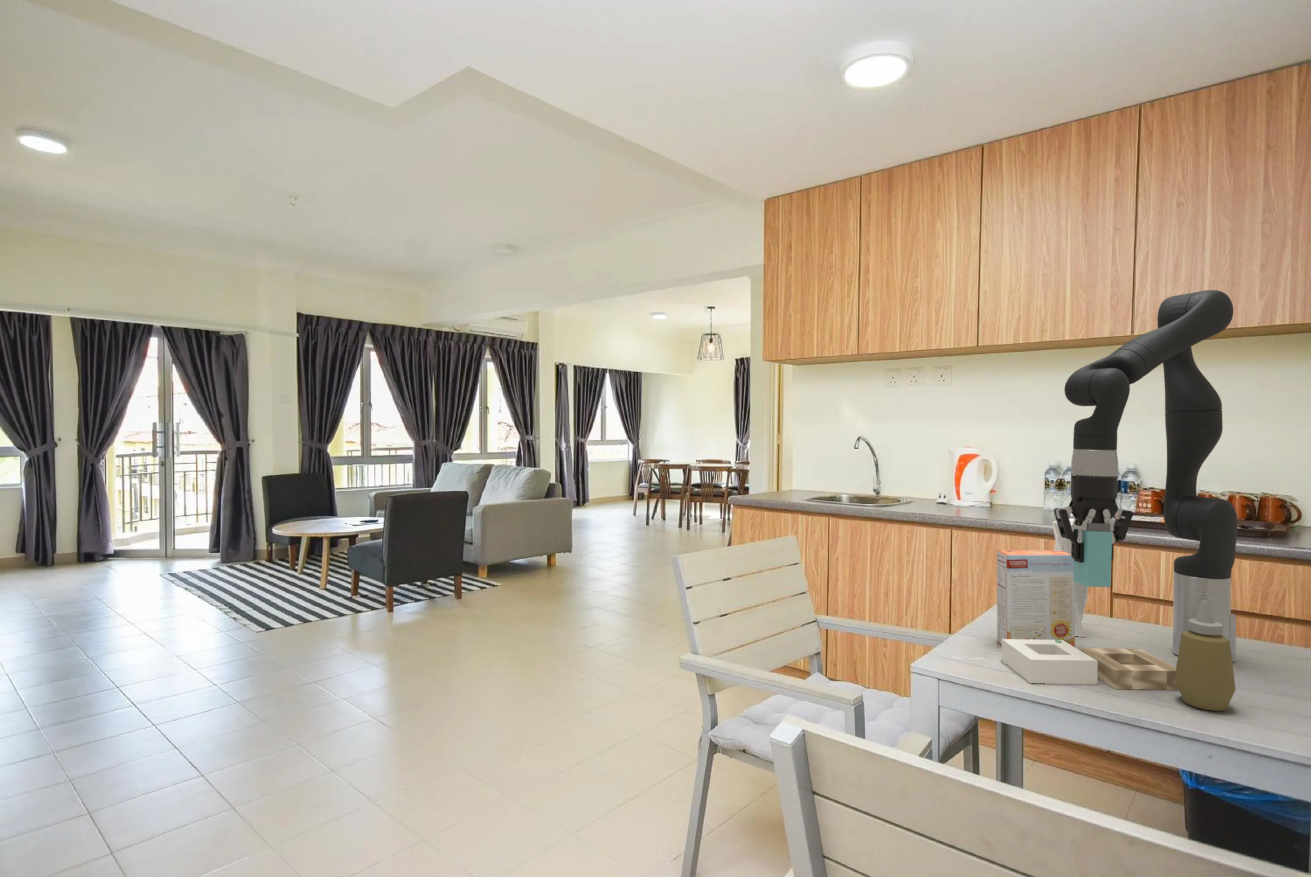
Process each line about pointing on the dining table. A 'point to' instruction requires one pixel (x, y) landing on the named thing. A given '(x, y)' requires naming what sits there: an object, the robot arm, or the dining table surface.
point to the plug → (1095, 557)
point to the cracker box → (1035, 595)
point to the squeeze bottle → (1205, 663)
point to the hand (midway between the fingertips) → (1091, 561)
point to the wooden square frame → (1132, 669)
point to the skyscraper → (1080, 589)
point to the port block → (1049, 661)
